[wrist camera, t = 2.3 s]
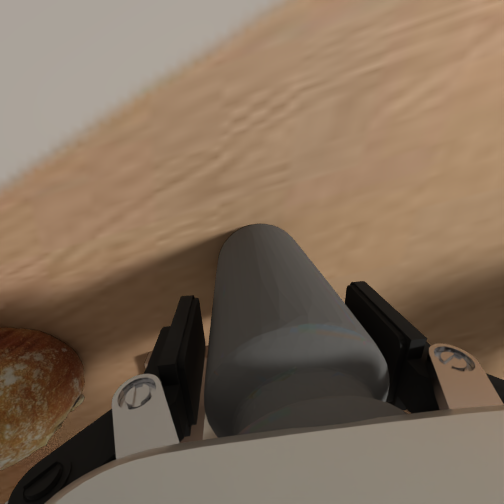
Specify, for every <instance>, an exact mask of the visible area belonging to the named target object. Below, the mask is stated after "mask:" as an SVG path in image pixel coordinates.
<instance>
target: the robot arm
mask: <svg viewBox="0 0 504 504" xmlns="http://www.w3.org/2000/svg"><path fill="white" fill-rule="evenodd" d="M345 305H346V306H347V307H348V308H349V310H350V311H351V312H352V314H353V315H354V316H355V318H356V319H357V320H358V321H359V323H360V324H361V325H362V327H363V328H364V329H365V330H366V332H367V333H368V334H369V336H370V337H371V338H372V339H373V341H374V342H375V344H376V345H377V347H378V348H379V350H380V352H381V353H382V355H383V357H384V358H385V361H386V363H387V366H388V372H389V390H388V396H387V399H386V402H388V403H390V404H392V405H394V406H395V407H397V408H399V409H401V410H408V411H409V412H411V414H404V415H395V416H387V417H378V418H373V419H368V420H363V421H358V422H351V423H344V424H336V425H327V426H317V427H302V428H289V429H281V430H274V431H266V432H258V433H250V434H243V435H235V436H227V437H220V438H213V439H206V440H199V441H193V442H186V443H180V442H181V441H182V440H183V439H184V437H187V436H190V434H191V427H192V425H196V424H197V418H198V410H199V402H200V393H201V385H202V377H203V369H204V360H205V352H206V346H205V338H204V331H203V324H202V317H201V310H200V303H199V299H198V298H195V297H194V295H192V296H181V298H180V301H179V304H178V307H177V310H176V312H175V315H174V318H173V321H172V324H171V326H167V327H163V328H162V329H161V331H160V334H159V337H158V339H157V342H156V344H155V347H154V349H153V352H152V354H151V357H150V359H149V362H148V365H147V367H146V370H145V372H144V374H141V375H138V376H134V377H133V378H131V379H129V380H127V381H126V382H125V383H123V384H122V385H121V386H120V387H119V388H118V390H117V391H116V392H115V394H114V396H113V399H112V409H111V410H110V411H108V412H107V413H105V414H104V415H103V416H101V417H100V418H99V419H97V420H96V421H94V422H93V423H92V424H90V425H89V426H88V427H86V428H85V429H83V430H82V431H81V432H79V433H78V434H77V435H75V436H74V437H73V438H71V439H70V440H68V441H67V442H66V443H64V444H63V445H62V446H60V447H59V448H57V449H56V450H55V451H53V452H52V453H51V454H49V455H48V456H46V457H45V458H44V459H42V460H41V461H40V462H38V463H37V464H36V465H35V466H34V467H32V468H31V469H30V470H29V471H28V472H27V473H26V474H25V475H24V476H23V478H22V479H21V480H20V481H19V482H18V484H17V485H16V487H15V488H14V490H13V492H12V494H11V496H10V499H9V500H8V501H7V502H6V503H5V504H504V380H502V379H499V378H497V377H494V376H492V375H489V374H486V373H485V371H484V370H483V368H482V366H481V365H480V363H479V362H478V361H477V359H476V358H474V357H473V356H472V355H471V354H469V353H468V352H466V351H464V350H463V349H460V348H458V347H455V346H452V345H448V344H441V343H439V344H433V345H430V344H428V343H427V342H426V340H427V338H426V337H425V336H424V335H423V334H422V333H420V332H419V331H418V330H417V329H416V328H415V327H414V326H413V325H412V324H411V323H410V322H408V321H407V320H406V319H405V318H404V317H403V316H402V315H401V314H400V313H399V312H398V311H396V310H395V309H394V308H393V307H392V306H391V305H390V304H389V303H388V302H387V301H385V300H384V299H383V298H382V297H381V296H380V295H379V294H378V293H377V292H376V291H375V290H373V289H372V288H371V287H370V286H369V285H368V284H367V283H366V282H364V281H360V282H352V283H351V284H350V285H348V286H347V290H346V298H345Z"/></svg>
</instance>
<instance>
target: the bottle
mask: <svg viewBox="0 0 504 504" xmlns="http://www.w3.org/2000/svg"><path fill="white" fill-rule="evenodd" d="M388 390H389V372H388V366H387V363H386V361H385V358H384V357H383V355H382V353H381V352H380V350H379V348H378V347H377V345H376V344H375V342H374V341H373V339H372V338H371V337H370V336H369V334H368V333H367V332H366V330H365V329H364V328H363V327H362V325H361V324H360V323H359V321H358V320H357V319H356V318H355V316H354V315H353V314H352V312H351V311H350V310H349V308H348V307H347V306H346V305H345V303H344V302H343V301H342V299H341V298H340V297H339V296H338V294H337V293H336V292H335V290H334V289H333V288H332V287H331V285H330V284H329V283H328V281H327V280H326V279H325V278H324V276H323V275H322V274H321V273H320V271H319V270H318V269H317V268H316V266H315V265H314V264H313V263H312V261H311V260H310V259H309V258H308V257H307V255H306V254H305V253H304V252H303V250H302V249H301V248H300V247H299V245H298V244H297V243H296V242H295V240H294V239H293V238H292V237H291V236H290V235H289V234H288V233H287V232H285V231H284V230H282V229H280V228H278V227H276V226H273V225H268V224H253V225H249V226H246V227H243V228H241V229H239V230H237V231H236V232H235V233H233V234H232V235H231V236H230V237H229V238H228V239H227V240H226V242H225V243H224V245H223V246H222V249H221V251H220V254H219V258H218V265H217V272H216V281H215V290H214V299H213V308H212V318H211V327H210V336H209V345H208V354H207V363H206V374H205V386H204V407H205V414H206V417H207V420H208V423H209V425H210V427H211V428H212V430H213V432H214V433H215V435H216V436H217V437H218V438H220V437H227V436H235V435H243V434H250V433H258V432H266V431H274V430H281V429H289V428H302V427H317V426H327V425H336V424H344V423H351V422H358V421H363V420H368V419H373V418H378V417H387V416H395V415H404V414H407V413H405V412H404V411H403V410H401V409H399V408H397V407H395V406H394V405H392V404H390V403H387V402H386V399H387V396H388Z"/></svg>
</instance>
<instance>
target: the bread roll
mask: <svg viewBox="0 0 504 504" xmlns="http://www.w3.org/2000/svg"><path fill="white" fill-rule="evenodd" d="M83 370H84V367H83V365H82V363H81V361H80V358H79V356H78V355H77V354H76V352H75V351H74V350H73V349H72V348H70V347H69V346H68V345H66V344H65V343H63V342H61V341H60V340H58V339H56V338H54V337H53V336H51V335H48V334H46V333H44V332H41V331H37V330H28V329H24V328H23V329H17V328H8V327H0V470H3V469H5V468H7V467H9V466H12V465H14V464H16V463H17V462H19V461H21V460H23V459H25V458H26V457H28V456H29V455H30V454H32V453H33V452H35V451H36V450H38V449H39V448H41V447H42V446H46V445H47V443H48V440H49V439H50V438H51V437H52V435H54V433H55V432H56V430H57V429H59V428H60V427H61V426H62V425H61V424H62V423H63V422H64V420H65V418H67V415H68V414H69V412H71V411H73V410H74V409H75V408H76V407H77V406H79V405H80V404H81V403H82V402H83V400H84V396H83V395H82V391H83V387H84V383H85V381H84V373H83Z"/></svg>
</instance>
